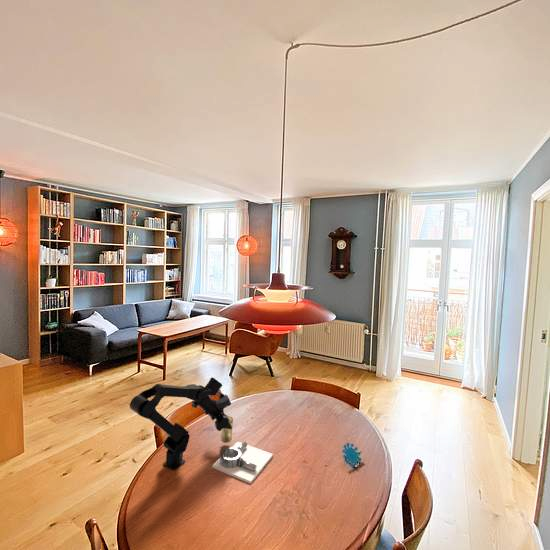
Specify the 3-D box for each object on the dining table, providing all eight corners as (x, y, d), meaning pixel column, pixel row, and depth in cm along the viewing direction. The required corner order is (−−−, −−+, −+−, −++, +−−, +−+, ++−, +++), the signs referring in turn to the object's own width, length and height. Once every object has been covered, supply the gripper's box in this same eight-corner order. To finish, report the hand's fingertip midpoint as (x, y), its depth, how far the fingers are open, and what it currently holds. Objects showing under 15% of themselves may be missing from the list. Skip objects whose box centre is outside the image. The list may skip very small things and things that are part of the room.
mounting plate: (250, 483, 123) (250, 481, 123) (212, 467, 131) (212, 465, 131) (273, 456, 141) (273, 454, 141) (237, 443, 149) (237, 441, 149)
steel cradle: (249, 478, 126) (250, 468, 125) (215, 464, 133) (216, 455, 132) (268, 456, 140) (268, 447, 140) (236, 444, 147) (237, 436, 147)
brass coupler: (227, 444, 144) (229, 422, 143) (218, 440, 146) (219, 419, 146) (233, 438, 149) (235, 417, 148) (224, 435, 151) (226, 414, 150)
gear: (349, 468, 134) (340, 443, 140) (340, 472, 137) (332, 447, 144) (367, 465, 140) (358, 440, 146) (358, 468, 143) (350, 445, 149)
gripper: (225, 400, 136) (248, 421, 141) (216, 383, 153) (237, 403, 158) (206, 420, 133) (230, 441, 138) (199, 401, 151) (220, 420, 155)
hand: (230, 425), depth 148 cm, fingers closed on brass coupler, 5 cm apart
